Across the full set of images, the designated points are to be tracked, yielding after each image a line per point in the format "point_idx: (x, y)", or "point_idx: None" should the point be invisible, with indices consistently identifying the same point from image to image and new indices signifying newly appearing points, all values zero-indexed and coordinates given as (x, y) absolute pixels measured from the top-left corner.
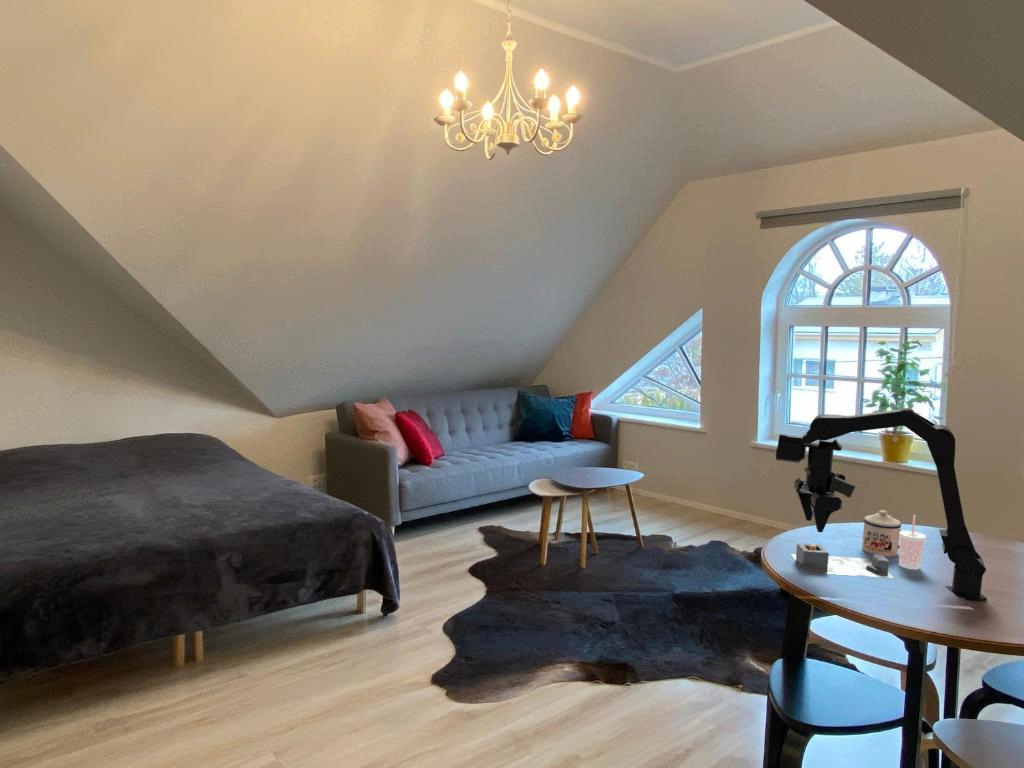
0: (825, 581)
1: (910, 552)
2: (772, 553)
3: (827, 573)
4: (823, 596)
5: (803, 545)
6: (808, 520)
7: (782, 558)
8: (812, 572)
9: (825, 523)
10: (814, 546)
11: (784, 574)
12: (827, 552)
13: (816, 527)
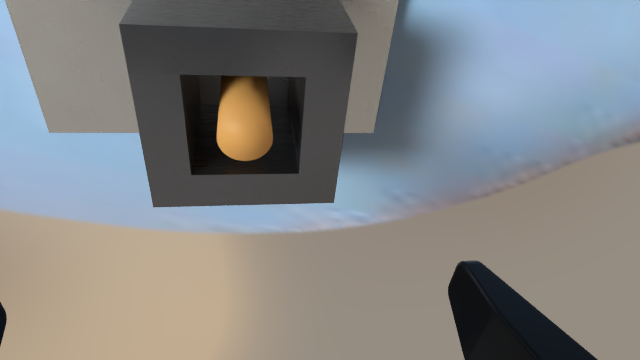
0: (467, 47)
1: None
2: (45, 205)
3: (391, 8)
4: (628, 121)
5: (193, 177)
6: (2, 306)
7: (119, 174)
8: (372, 96)
9: (586, 358)
10: (254, 129)
11: (364, 210)
12: (346, 41)
13: (467, 342)
